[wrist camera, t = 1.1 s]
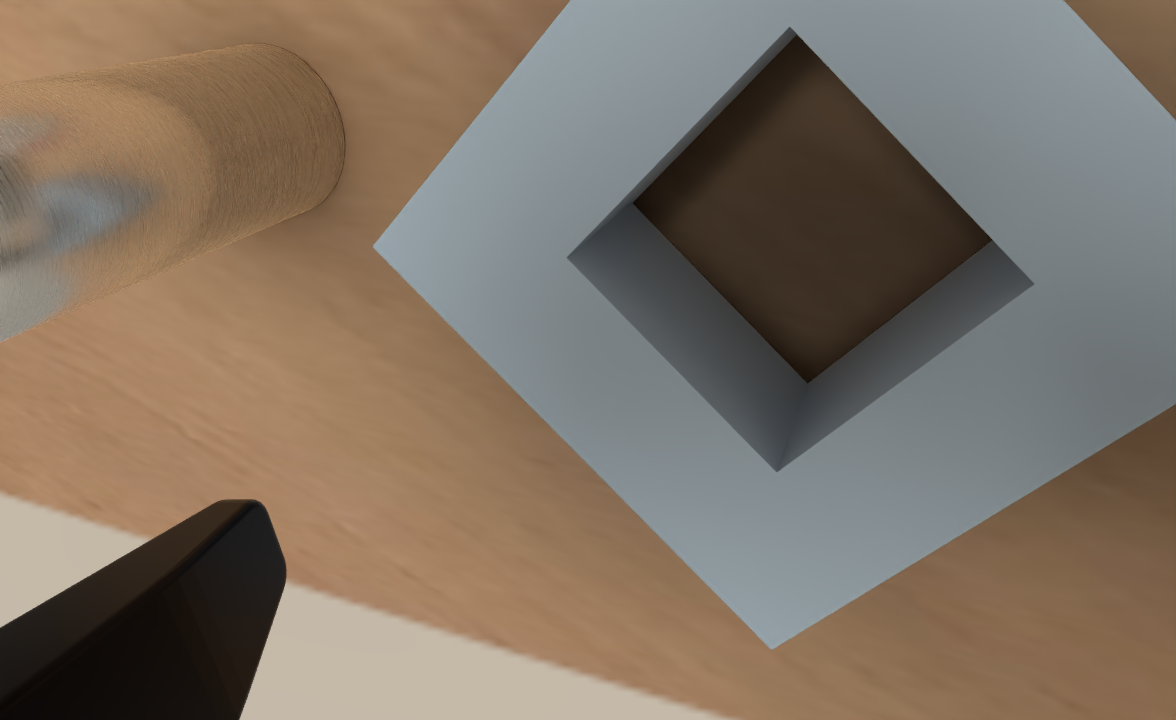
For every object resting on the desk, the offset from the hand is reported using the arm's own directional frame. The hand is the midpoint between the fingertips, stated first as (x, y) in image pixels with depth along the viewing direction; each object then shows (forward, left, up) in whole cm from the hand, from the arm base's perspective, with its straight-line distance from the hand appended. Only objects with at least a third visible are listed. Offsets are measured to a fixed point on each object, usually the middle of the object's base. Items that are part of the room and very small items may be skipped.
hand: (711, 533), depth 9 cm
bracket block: (0, 0, -12) cm, 12 cm away
